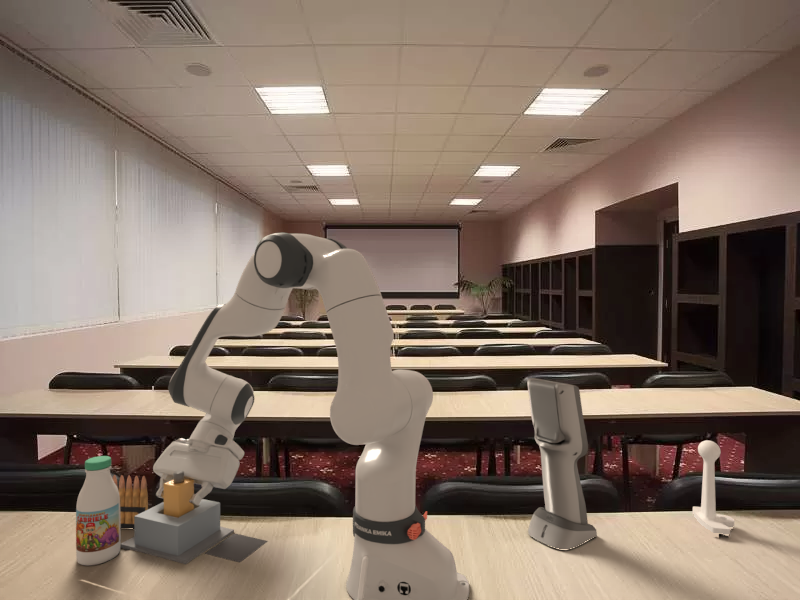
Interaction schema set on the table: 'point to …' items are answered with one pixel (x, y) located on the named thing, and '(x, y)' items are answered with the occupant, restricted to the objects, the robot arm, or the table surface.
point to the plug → (178, 495)
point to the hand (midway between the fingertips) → (176, 500)
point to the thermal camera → (559, 464)
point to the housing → (177, 532)
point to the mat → (236, 547)
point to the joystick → (710, 492)
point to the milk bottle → (98, 514)
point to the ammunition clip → (131, 500)
